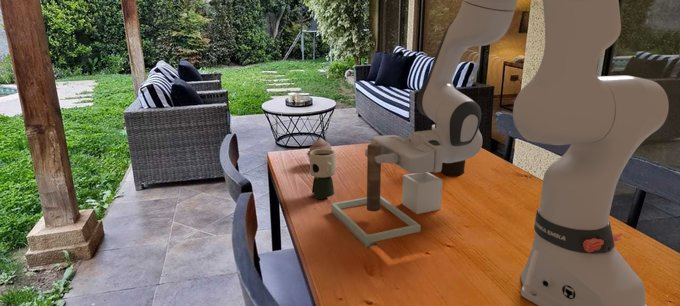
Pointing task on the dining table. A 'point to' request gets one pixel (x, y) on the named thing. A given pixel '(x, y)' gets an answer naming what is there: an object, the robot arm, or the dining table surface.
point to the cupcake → (319, 145)
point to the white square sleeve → (422, 192)
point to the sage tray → (371, 238)
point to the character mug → (322, 172)
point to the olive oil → (452, 167)
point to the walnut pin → (373, 178)
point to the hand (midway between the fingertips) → (370, 156)
